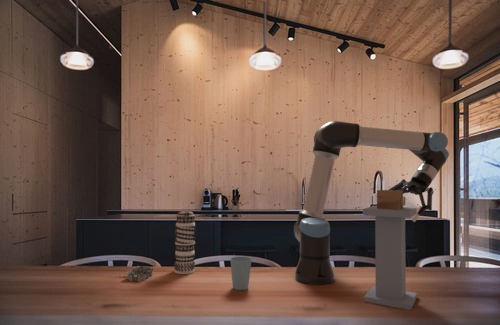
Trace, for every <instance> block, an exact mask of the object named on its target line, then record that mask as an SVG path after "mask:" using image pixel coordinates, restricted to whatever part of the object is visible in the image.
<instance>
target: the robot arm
mask: <svg viewBox="0 0 500 325" xmlns="http://www.w3.org/2000/svg"><path fill="white" fill-rule="evenodd" d="M448 144H449V139H448V137H447V135H446V134H445V133H443V132H441V131H438V132H437V131H433V132H422V131H410V130H401V129H391V128H390V129H388V128H379V127H370V126H369V127H368V126H361V125H360V124H359V123H353V122H345V121H338V120H332V121H329V122H327V123H325V124H324V125H322V126H321V127H319V128H318V129H317V130H316V131H315V134H314V136H313V149H312V153H313V154H314V160H313V164H312V165H313V166H312V168H311V174H310V177H309V182H308V183H309V184H308V185H307V186H308V187H307V192H306V196H305V201H304V205H303V209H301V210H300V211H299V212H298V216H297V220H296V222H295V223H294V225H293V235H294V237H295V239H296V241H298V243H299V260H298V263H297V266H296V269H295V272H294V274H295V276H294V278H295V280H297V281H298V282H300V283H304V284H310V285H328V284H331V283H333V282H334V281H335V274H334V273H335V272H334V271H333V270H334V269H333V267H332V263H331V260H330V258H331V256H330V253H331V252H330V251H331V250H330V248H331V246H330V245H331V244H330V243H331V242H330V240H331V238H330V237H331V234H330V232H331V228H330V223H329V221H328V220H326V217H325V215H324V210H325V205H326V201H327V196H328V193H329V188H330V182H331V178H332V175H333V174H332V172H333V170H334V169H333V168H334V164H335V161H336V160H337V159H338V158H339V157H340V153H341V149H342V148H343V149H344V148H356V147H358V146H363V147H364V146H365V147H376V148H377V147H378V148H387V149H397V150H408V151H410V152H411V153H412V154H414V155H415V156H416V157H417V158H419V159H420V160H421V161H422V163H421V164H420V166H419V167H418V169H416V172H415V173H414V174H413V175H412V177H411V179H410V180H409V181H406V179H405V178H403V179H402V180H401V181H400V182H398V183H397V184H396V185H394V186H391V187H390V188H389V189H388V190H400V191H403V195H404V194H408V193H410V194H413V195H415V196H417V195H418V196H419V199H420V203H421V205H418V207H417V208H416V210H417V214H415V215H414V216H412V217H411V221H412V222H413V223H416V221H417V220H418V218H419V217H420V216H422V215H423V214H424V213H425V211H427V210H428V211H432V210H433V209H432V208H433V195H434V192H435V191H434V188H433V187H430V185H431V184H432V182H433V181H434V180H435V178H436V177H437V174H438V173H439V172H440V170H441V169H442V168H443V166H444V165H445V164H446V162H447V160H448V158H449V156H450V152H449V151H448V150H447V149H446V148H447V146H448ZM423 193H426V194H427V195H426V201H425V199H424V194H423Z"/></svg>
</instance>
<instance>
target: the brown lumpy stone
mask: <svg viewBox="0 0 500 325" xmlns="http://www.w3.org/2000/svg"><path fill="white" fill-rule="evenodd" d="M153 271H154V268H153V267H152V268H150V267H147V266H140V265H137V266H136V267H134V268H132V269H130V270H127V271H126V275H127V281H129V282H133V281H137V282H143V281H146V280H147V279H149V278H150V277H152V276H153Z"/></svg>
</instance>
